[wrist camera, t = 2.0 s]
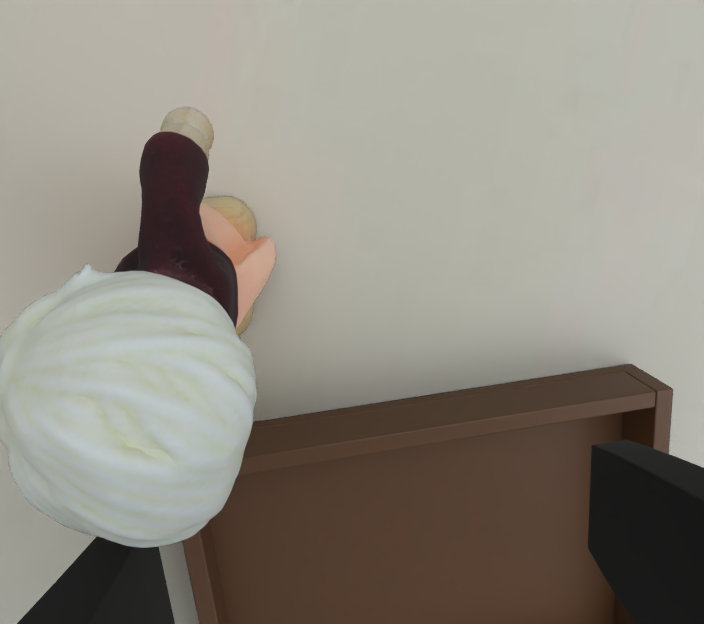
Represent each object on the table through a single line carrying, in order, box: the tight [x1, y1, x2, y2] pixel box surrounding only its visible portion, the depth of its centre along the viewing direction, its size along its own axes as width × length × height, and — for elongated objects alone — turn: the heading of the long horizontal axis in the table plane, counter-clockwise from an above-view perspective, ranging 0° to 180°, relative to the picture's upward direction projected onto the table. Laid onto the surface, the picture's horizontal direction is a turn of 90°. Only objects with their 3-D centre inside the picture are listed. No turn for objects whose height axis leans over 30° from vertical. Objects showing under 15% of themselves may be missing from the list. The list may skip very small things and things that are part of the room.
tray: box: [182, 364, 673, 624], centre depth 21 cm, size 16×12×2 cm
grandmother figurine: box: [0, 107, 276, 548], centre depth 12 cm, size 8×4×13 cm, turn 4°
